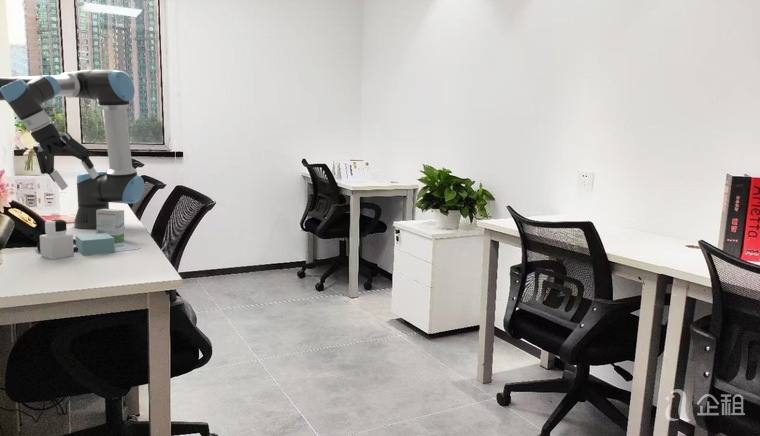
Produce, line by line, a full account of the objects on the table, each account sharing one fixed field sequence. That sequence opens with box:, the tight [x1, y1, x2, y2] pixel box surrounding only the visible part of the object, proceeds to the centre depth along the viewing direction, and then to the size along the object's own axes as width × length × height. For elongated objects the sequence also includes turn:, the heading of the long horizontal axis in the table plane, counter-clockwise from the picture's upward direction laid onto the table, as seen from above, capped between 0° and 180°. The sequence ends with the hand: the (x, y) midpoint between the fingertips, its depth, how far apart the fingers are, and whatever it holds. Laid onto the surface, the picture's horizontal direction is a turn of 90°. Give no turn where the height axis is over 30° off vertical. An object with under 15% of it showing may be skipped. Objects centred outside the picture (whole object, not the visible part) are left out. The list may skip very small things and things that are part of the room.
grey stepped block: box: [39, 219, 75, 260], centre depth 185 cm, size 7×7×12 cm
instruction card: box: [114, 242, 141, 252], centre depth 202 cm, size 12×8×1 cm, turn 47°
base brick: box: [75, 233, 116, 256], centre depth 195 cm, size 10×10×5 cm
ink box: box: [96, 208, 125, 243], centre depth 212 cm, size 9×5×12 cm, turn 84°
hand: (80, 182), depth 192 cm, fingers open, 13 cm apart
